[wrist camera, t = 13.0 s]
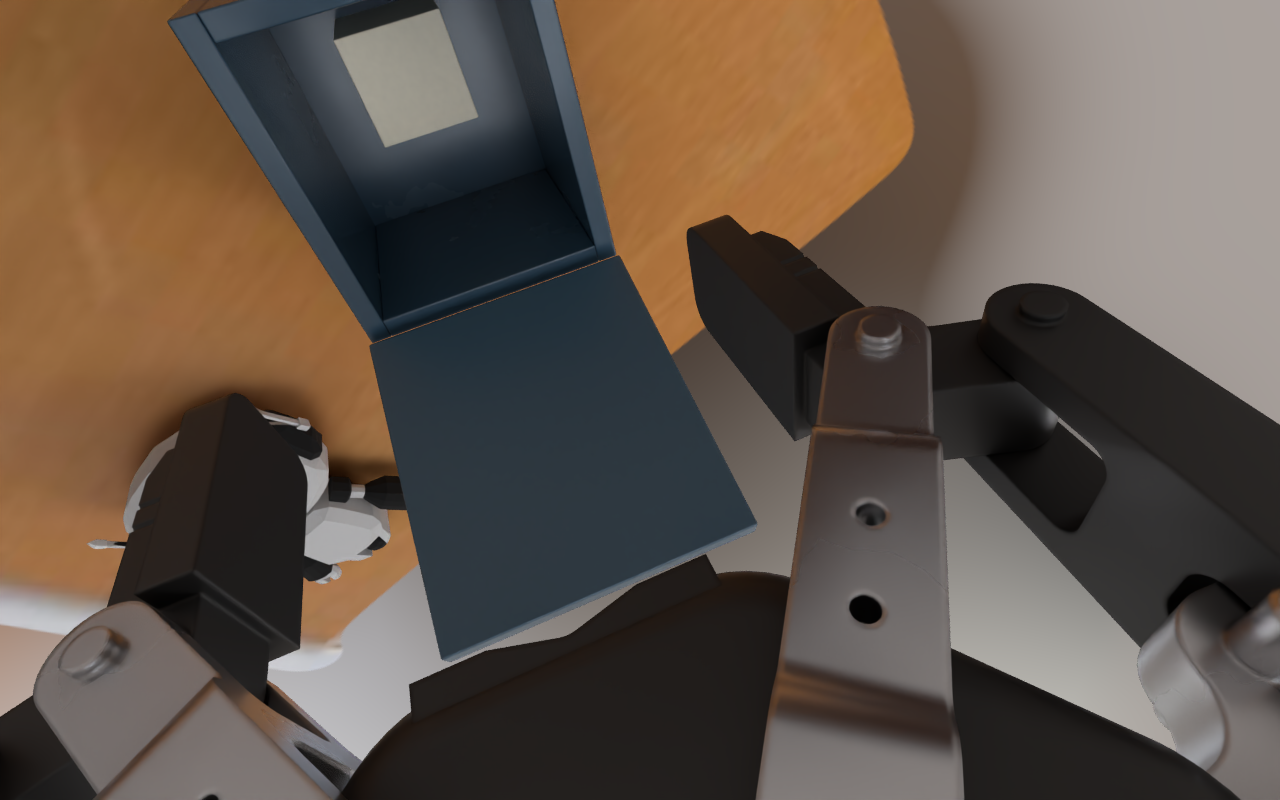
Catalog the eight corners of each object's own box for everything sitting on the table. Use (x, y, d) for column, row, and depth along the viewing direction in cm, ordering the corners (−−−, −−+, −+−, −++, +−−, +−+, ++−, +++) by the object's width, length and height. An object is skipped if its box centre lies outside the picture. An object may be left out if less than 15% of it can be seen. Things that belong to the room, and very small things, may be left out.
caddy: (218, -28, 24) (165, 21, 17) (482, -102, 25) (534, -85, 18) (366, 237, 32) (372, 343, 25) (560, 171, 33) (617, 255, 26)
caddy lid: (440, 661, 19) (449, 663, 19) (758, 524, 20) (756, 531, 21) (368, 344, 24) (377, 355, 25) (619, 254, 25) (621, 266, 26)
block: (334, 19, 25) (332, 40, 22) (428, -9, 26) (439, 7, 23) (381, 118, 28) (385, 148, 25) (465, 91, 28) (478, 117, 26)
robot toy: (442, 457, 44) (231, 353, 33) (453, 507, 41) (226, 411, 30) (324, 555, 46) (89, 489, 35) (327, 609, 43) (71, 554, 32)
